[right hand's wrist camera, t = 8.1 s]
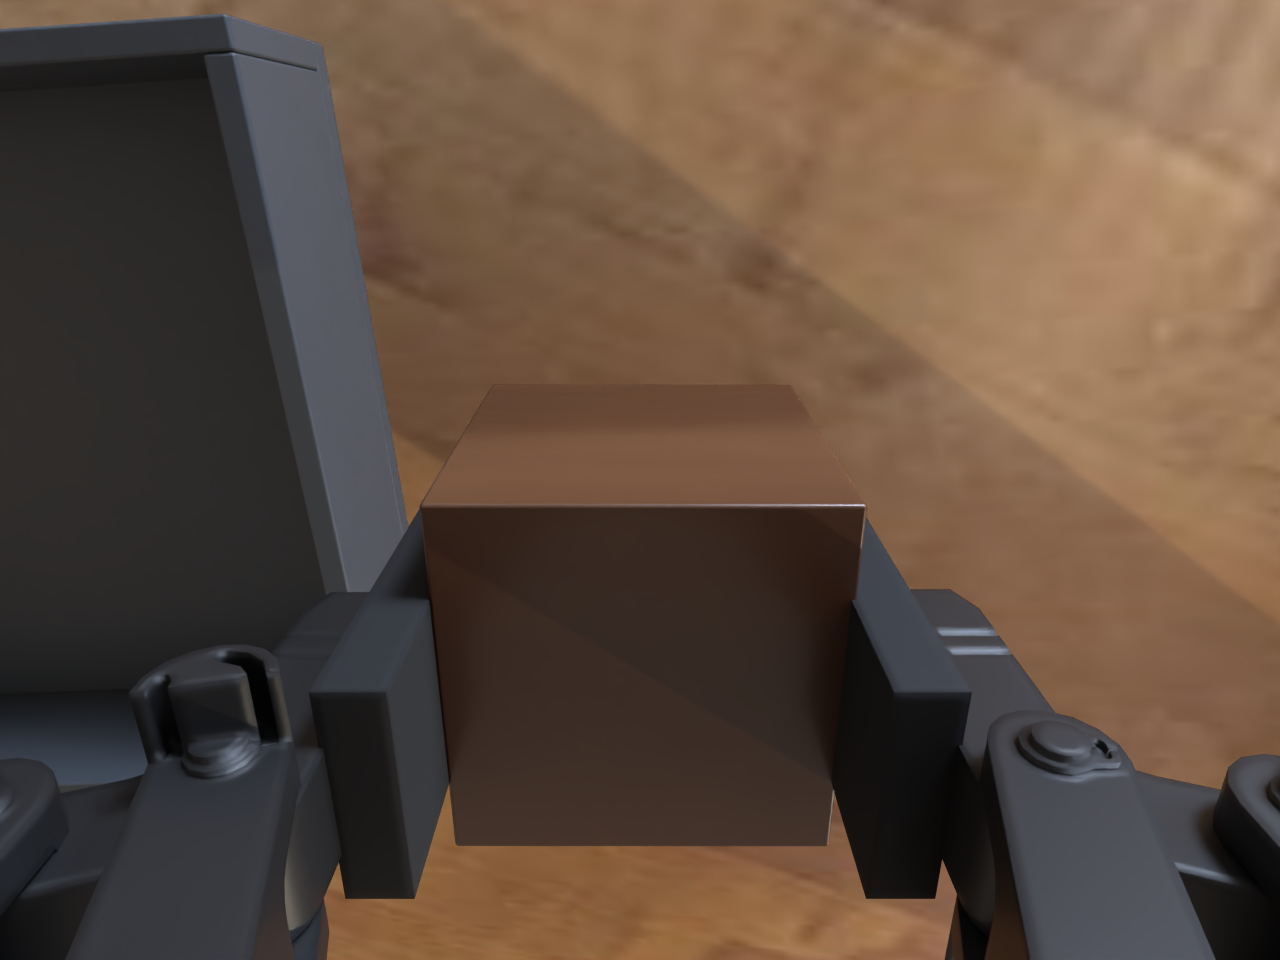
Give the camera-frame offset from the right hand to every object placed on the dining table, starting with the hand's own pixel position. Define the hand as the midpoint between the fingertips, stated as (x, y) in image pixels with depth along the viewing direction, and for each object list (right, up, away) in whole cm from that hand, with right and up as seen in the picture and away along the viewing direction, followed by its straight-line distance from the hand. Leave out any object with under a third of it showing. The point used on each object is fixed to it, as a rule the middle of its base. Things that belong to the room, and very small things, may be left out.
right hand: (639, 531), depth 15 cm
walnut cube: (0, 0, 0) cm, 0 cm away
